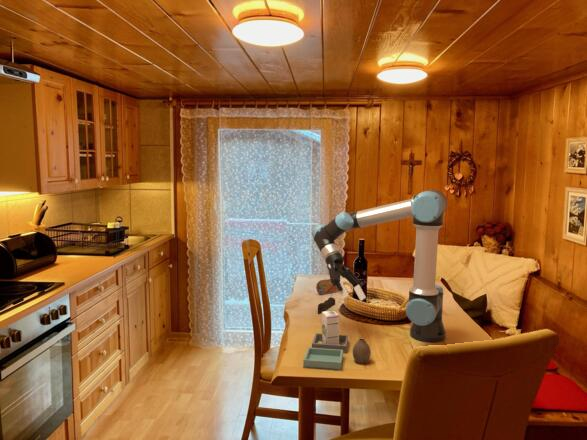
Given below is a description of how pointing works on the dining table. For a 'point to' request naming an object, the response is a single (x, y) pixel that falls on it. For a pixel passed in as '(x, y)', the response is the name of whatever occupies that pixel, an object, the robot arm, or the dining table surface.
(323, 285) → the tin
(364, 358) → the vase
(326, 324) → the syrup box
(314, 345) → the bin
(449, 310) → the dining table surface
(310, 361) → the bin
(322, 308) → the hand tool
